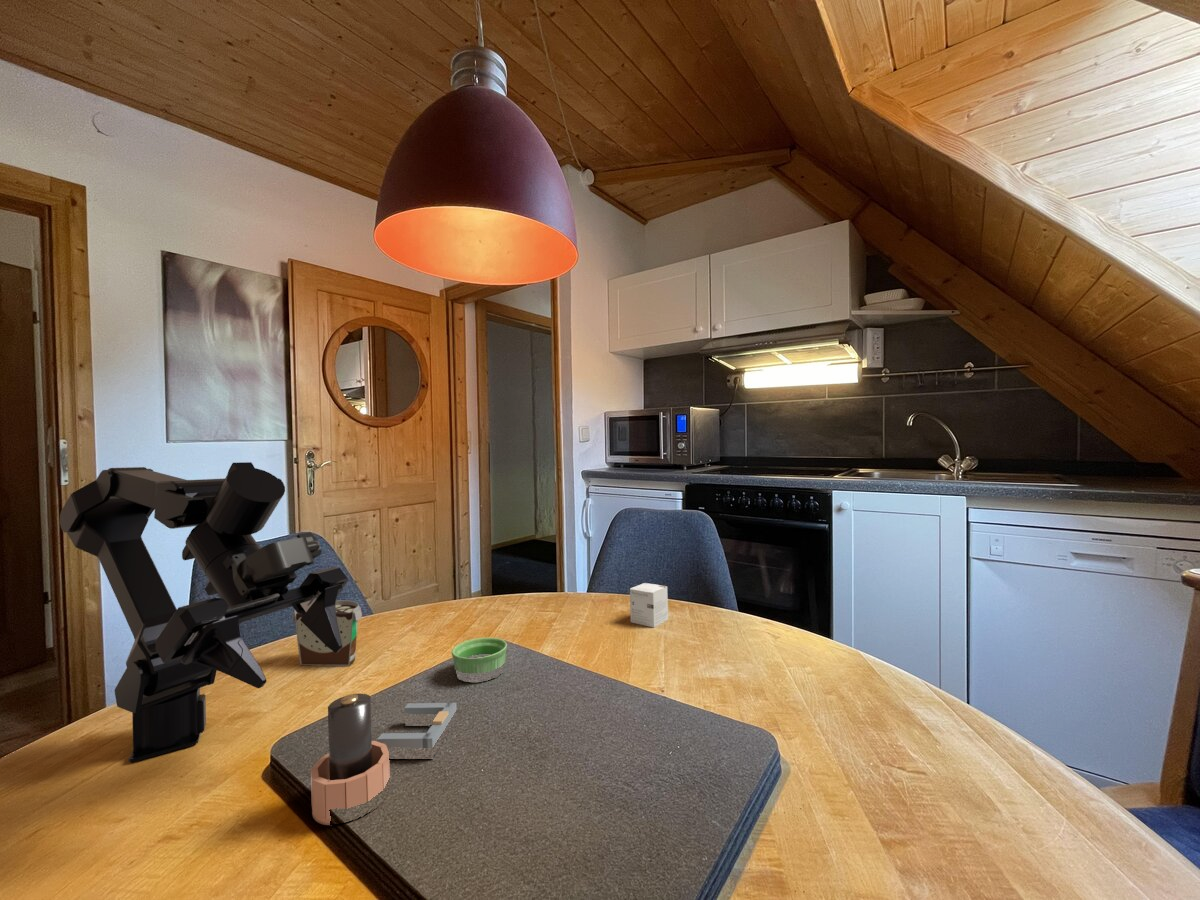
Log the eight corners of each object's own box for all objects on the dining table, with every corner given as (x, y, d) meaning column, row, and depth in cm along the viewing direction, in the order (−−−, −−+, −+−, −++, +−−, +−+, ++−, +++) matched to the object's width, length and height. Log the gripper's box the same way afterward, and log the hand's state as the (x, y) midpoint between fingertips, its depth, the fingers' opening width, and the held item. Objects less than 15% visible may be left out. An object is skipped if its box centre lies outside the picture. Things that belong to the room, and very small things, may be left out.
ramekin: (450, 667, 83) (450, 642, 83) (503, 658, 86) (502, 634, 86) (454, 690, 75) (453, 662, 75) (512, 679, 78) (511, 652, 78)
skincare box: (630, 623, 102) (628, 588, 103) (645, 615, 107) (644, 581, 107) (654, 628, 99) (653, 592, 99) (669, 619, 103) (667, 585, 104)
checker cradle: (377, 760, 57) (377, 735, 57) (408, 721, 66) (408, 700, 66) (432, 759, 57) (432, 735, 57) (456, 721, 65) (456, 699, 66)
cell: (325, 811, 48) (323, 710, 48) (334, 786, 52) (332, 692, 52) (369, 801, 49) (367, 703, 50) (375, 777, 53) (372, 686, 53)
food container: (377, 652, 91) (375, 599, 91) (357, 666, 85) (356, 609, 85) (316, 652, 92) (314, 599, 93) (292, 665, 86) (291, 609, 86)
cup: (315, 836, 46) (314, 794, 46) (309, 795, 52) (308, 757, 52) (395, 803, 50) (394, 764, 50) (382, 768, 56) (381, 733, 56)
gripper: (172, 525, 46) (255, 653, 43) (336, 505, 64) (405, 594, 60) (123, 601, 49) (196, 728, 45) (294, 562, 66) (357, 651, 63)
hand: (304, 666), depth 53 cm, fingers open, 9 cm apart
